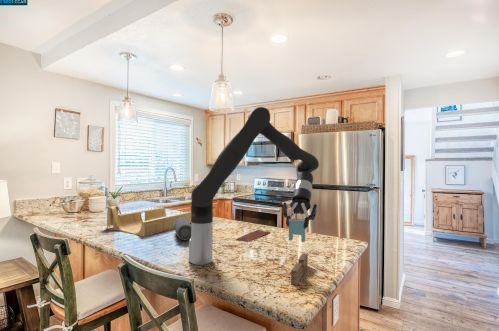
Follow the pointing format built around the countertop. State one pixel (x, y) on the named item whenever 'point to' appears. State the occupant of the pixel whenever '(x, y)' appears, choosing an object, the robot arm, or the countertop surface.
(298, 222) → the teal notched bridge block
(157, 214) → the skate ramp
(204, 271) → the countertop surface
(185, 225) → the bluetooth speaker
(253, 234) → the wooden tablet
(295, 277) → the walnut slotted plate
